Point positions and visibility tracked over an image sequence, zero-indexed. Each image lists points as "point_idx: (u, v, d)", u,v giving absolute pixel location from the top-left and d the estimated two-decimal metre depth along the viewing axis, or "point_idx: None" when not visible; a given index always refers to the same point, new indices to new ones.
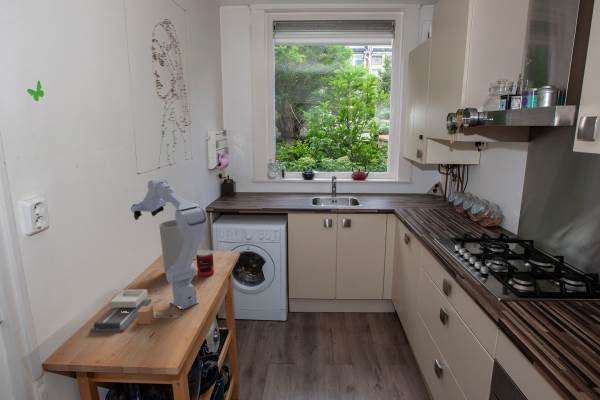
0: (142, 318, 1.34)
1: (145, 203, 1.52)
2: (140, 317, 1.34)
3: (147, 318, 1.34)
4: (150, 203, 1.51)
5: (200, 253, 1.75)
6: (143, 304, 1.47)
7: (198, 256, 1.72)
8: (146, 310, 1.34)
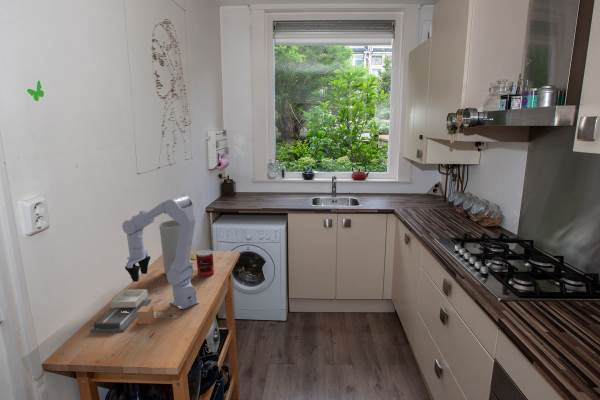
0: (142, 318, 1.34)
1: (134, 252, 1.50)
2: (140, 317, 1.34)
3: (147, 318, 1.34)
4: (136, 247, 1.49)
5: (200, 253, 1.75)
6: (143, 304, 1.47)
7: (198, 256, 1.72)
8: (146, 310, 1.34)
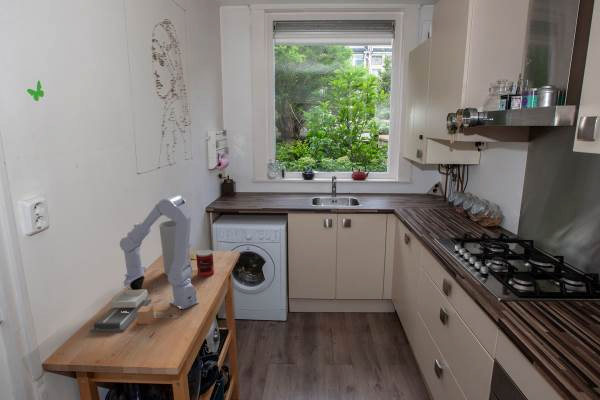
0: (142, 318, 1.34)
1: (132, 270, 1.47)
2: (140, 317, 1.34)
3: (147, 318, 1.34)
4: (135, 264, 1.48)
5: (200, 253, 1.75)
6: (143, 304, 1.47)
7: (198, 256, 1.72)
8: (146, 310, 1.34)
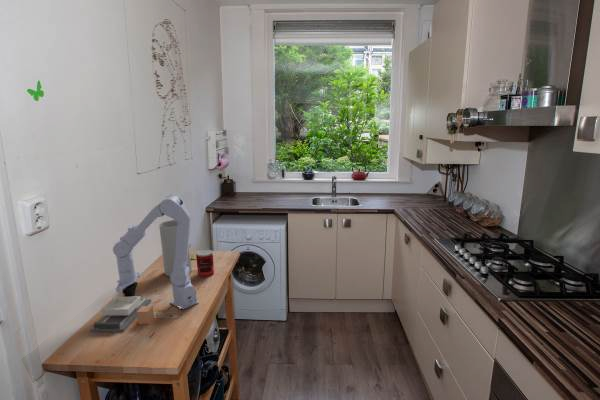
0: (142, 318, 1.34)
1: (124, 276, 1.42)
2: (140, 317, 1.34)
3: (147, 318, 1.34)
4: (130, 269, 1.42)
5: (200, 253, 1.75)
6: (143, 304, 1.47)
7: (198, 256, 1.72)
8: (146, 310, 1.34)
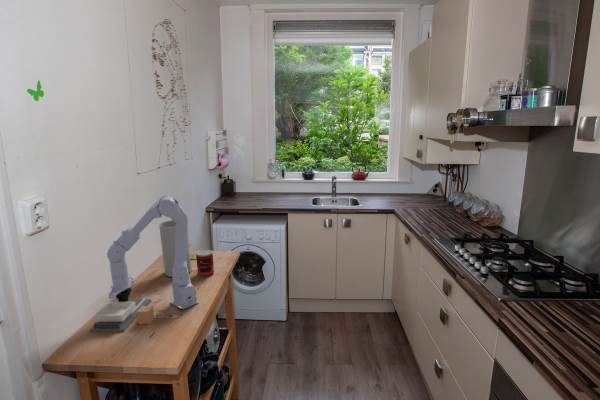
0: (142, 318, 1.34)
1: (118, 281, 1.37)
2: (140, 317, 1.34)
3: (147, 318, 1.34)
4: (125, 274, 1.38)
5: (200, 253, 1.75)
6: (143, 304, 1.47)
7: (198, 256, 1.72)
8: (146, 310, 1.34)
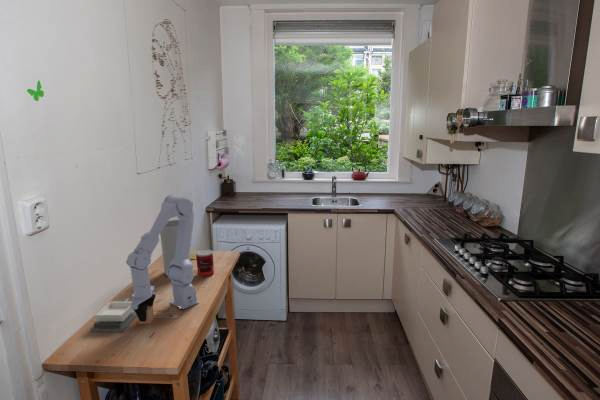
0: None
1: (139, 290, 1.31)
2: None
3: (147, 318, 1.34)
4: (149, 281, 1.34)
5: (200, 253, 1.75)
6: None
7: (198, 256, 1.72)
8: None
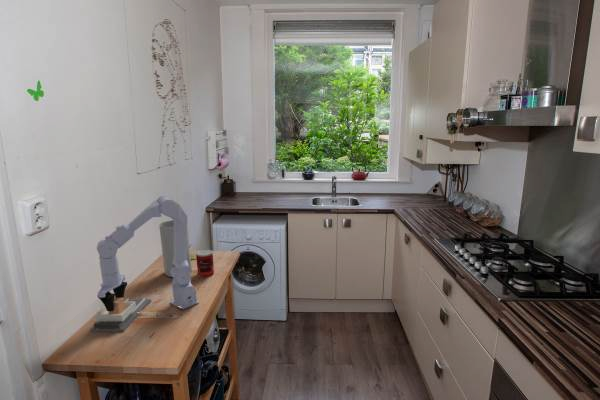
0: None
1: (108, 279, 1.31)
2: None
3: (117, 309, 1.34)
4: (117, 270, 1.32)
5: (200, 253, 1.75)
6: (143, 304, 1.47)
7: (198, 256, 1.72)
8: (116, 301, 1.34)
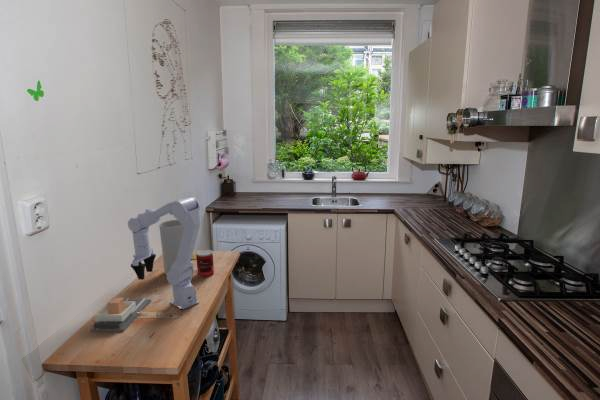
0: (112, 309, 1.34)
1: (140, 250, 1.49)
2: (110, 308, 1.34)
3: (117, 309, 1.34)
4: (142, 245, 1.49)
5: (200, 253, 1.75)
6: (143, 304, 1.47)
7: (198, 256, 1.72)
8: (116, 301, 1.34)
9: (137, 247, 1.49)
